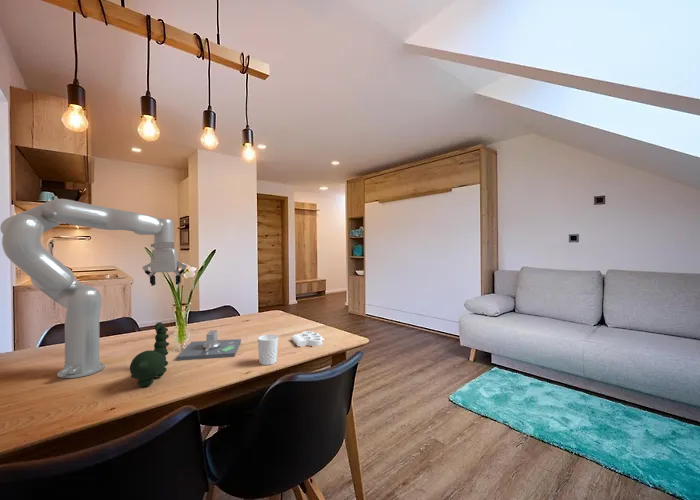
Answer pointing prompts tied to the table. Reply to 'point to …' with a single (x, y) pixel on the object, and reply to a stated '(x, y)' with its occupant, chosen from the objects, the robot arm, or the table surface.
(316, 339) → the white brass knuckles
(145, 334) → the table surface
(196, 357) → the dial plate
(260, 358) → the white cup
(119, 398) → the table surface
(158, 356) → the toy figurine
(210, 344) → the gray cube on spoon
